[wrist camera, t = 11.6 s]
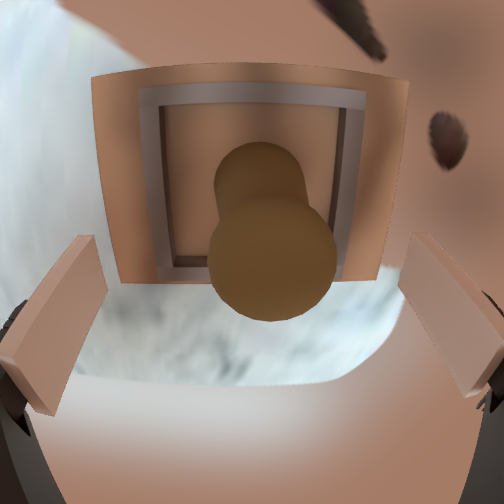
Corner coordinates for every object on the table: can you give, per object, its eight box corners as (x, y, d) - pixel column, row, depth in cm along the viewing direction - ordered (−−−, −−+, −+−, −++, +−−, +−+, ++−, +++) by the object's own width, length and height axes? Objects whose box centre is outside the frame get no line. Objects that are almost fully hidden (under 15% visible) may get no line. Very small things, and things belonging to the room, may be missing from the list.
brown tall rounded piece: (264, 242, 23) (282, 362, 13) (195, 193, 21) (160, 296, 11) (322, 180, 21) (388, 270, 11) (252, 122, 19) (267, 167, 9)
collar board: (124, 276, 25) (115, 294, 23) (97, 77, 17) (81, 77, 15) (372, 273, 26) (382, 290, 24) (402, 80, 18) (420, 82, 16)
